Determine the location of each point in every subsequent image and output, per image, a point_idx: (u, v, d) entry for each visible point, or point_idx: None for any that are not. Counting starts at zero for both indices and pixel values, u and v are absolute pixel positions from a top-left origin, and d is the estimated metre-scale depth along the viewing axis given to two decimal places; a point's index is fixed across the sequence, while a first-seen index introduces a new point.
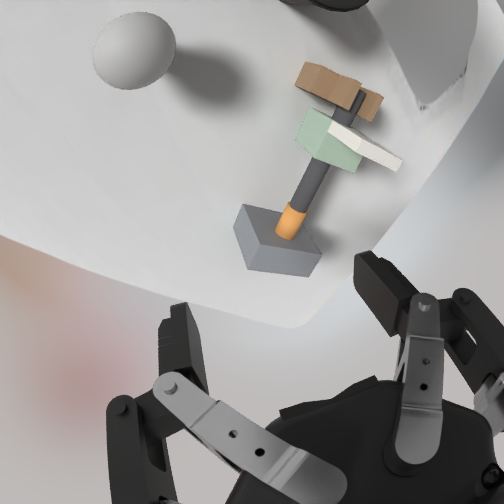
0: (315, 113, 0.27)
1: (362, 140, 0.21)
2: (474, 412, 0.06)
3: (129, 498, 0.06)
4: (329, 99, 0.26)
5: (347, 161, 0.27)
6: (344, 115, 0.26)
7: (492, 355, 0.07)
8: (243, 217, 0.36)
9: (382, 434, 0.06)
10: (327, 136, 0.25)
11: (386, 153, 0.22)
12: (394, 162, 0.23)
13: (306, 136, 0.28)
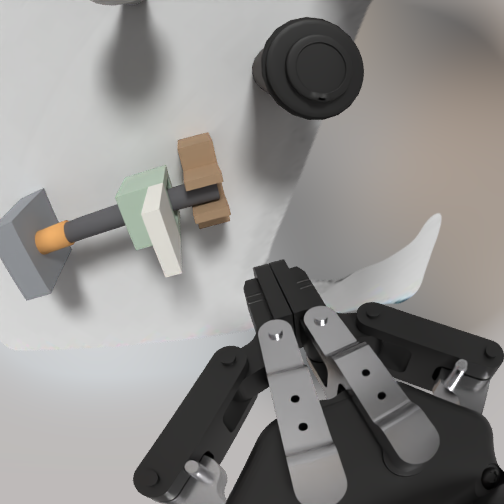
0: (161, 170, 0.25)
1: (157, 210, 0.18)
2: (474, 412, 0.06)
3: (178, 439, 0.07)
4: (185, 171, 0.25)
5: (140, 233, 0.24)
6: (180, 195, 0.24)
7: (435, 353, 0.08)
8: (31, 196, 0.24)
9: (374, 456, 0.06)
10: (144, 191, 0.22)
11: (170, 248, 0.19)
12: (171, 266, 0.20)
13: (134, 180, 0.24)
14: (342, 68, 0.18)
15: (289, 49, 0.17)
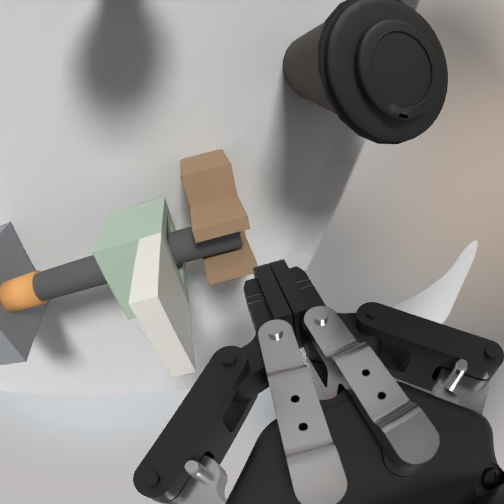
0: (158, 207, 0.18)
1: (155, 297, 0.11)
2: (474, 412, 0.06)
3: (178, 439, 0.07)
4: (192, 209, 0.18)
5: None
6: (187, 244, 0.17)
7: (435, 353, 0.08)
8: None
9: (374, 456, 0.06)
10: (134, 244, 0.15)
11: (178, 346, 0.12)
12: (180, 365, 0.13)
13: (120, 220, 0.17)
14: (428, 73, 0.11)
15: (360, 35, 0.10)
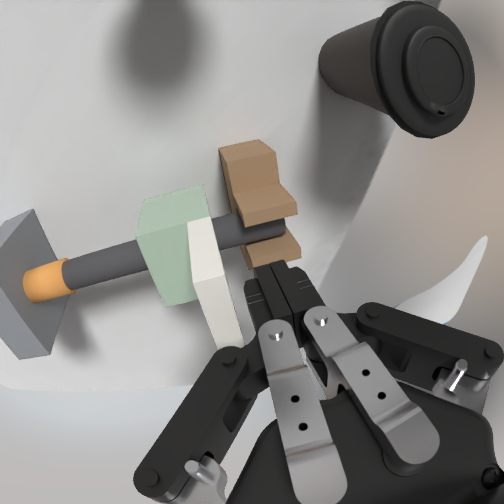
0: (199, 193, 0.18)
1: (222, 276, 0.11)
2: (474, 412, 0.06)
3: (178, 439, 0.07)
4: (236, 195, 0.18)
5: (172, 285, 0.17)
6: (232, 230, 0.18)
7: (435, 353, 0.08)
8: (17, 221, 0.18)
9: (374, 456, 0.06)
10: (181, 228, 0.15)
11: (236, 328, 0.13)
12: None
13: (159, 206, 0.17)
14: (460, 76, 0.11)
15: (406, 38, 0.10)
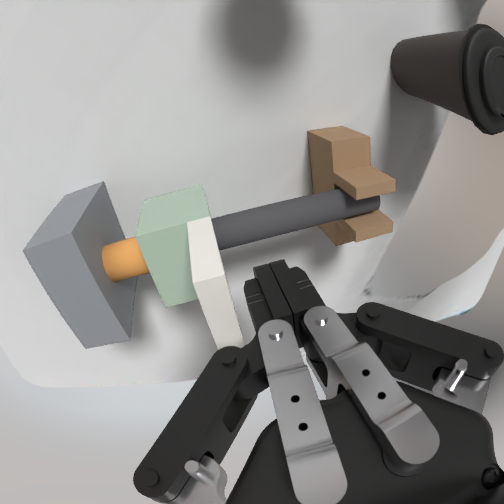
0: (199, 193, 0.18)
1: (222, 276, 0.11)
2: (474, 412, 0.06)
3: (178, 439, 0.07)
4: (337, 173, 0.19)
5: (172, 285, 0.17)
6: (338, 203, 0.18)
7: (435, 353, 0.08)
8: (87, 193, 0.18)
9: (374, 456, 0.06)
10: (180, 227, 0.15)
11: (236, 328, 0.13)
12: None
13: (159, 206, 0.17)
14: None
15: (482, 55, 0.11)
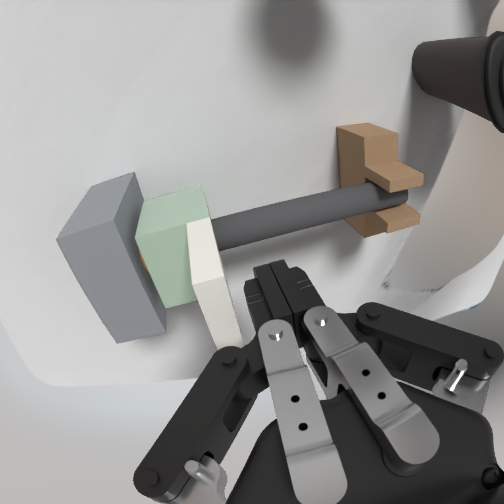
0: (199, 194, 0.18)
1: (221, 277, 0.11)
2: (474, 412, 0.06)
3: (178, 439, 0.07)
4: (369, 167, 0.19)
5: (172, 286, 0.17)
6: (371, 196, 0.18)
7: (435, 353, 0.08)
8: (119, 183, 0.18)
9: (374, 456, 0.06)
10: (180, 229, 0.15)
11: (236, 329, 0.13)
12: None
13: (158, 207, 0.17)
14: None
15: (501, 60, 0.11)
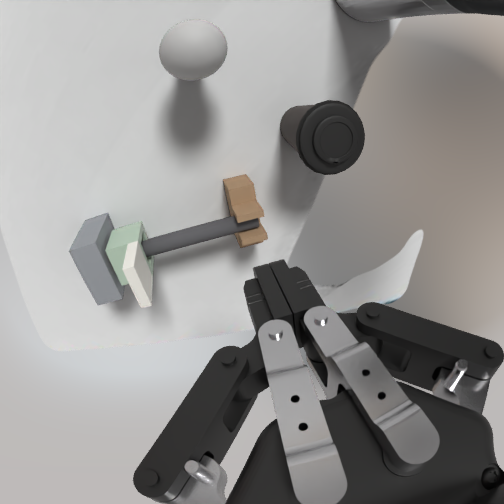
0: (138, 227, 0.34)
1: (132, 266, 0.27)
2: (474, 412, 0.06)
3: (178, 439, 0.07)
4: (233, 207, 0.35)
5: (124, 274, 0.32)
6: (231, 224, 0.35)
7: (435, 353, 0.08)
8: (99, 220, 0.34)
9: (374, 456, 0.06)
10: (125, 246, 0.31)
11: (143, 290, 0.28)
12: (144, 301, 0.29)
13: (118, 234, 0.33)
14: (350, 139, 0.28)
15: (315, 127, 0.27)
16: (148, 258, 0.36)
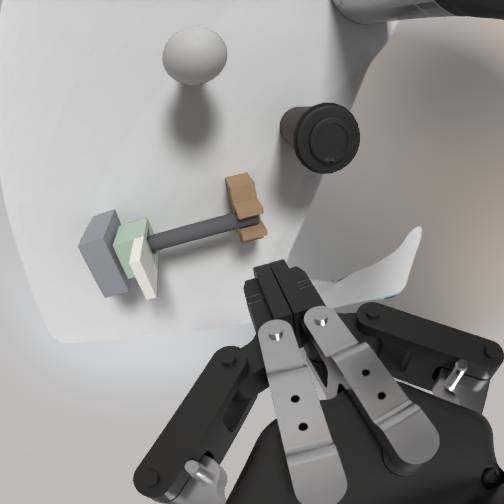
0: (143, 223, 0.36)
1: (139, 260, 0.29)
2: (474, 412, 0.06)
3: (178, 439, 0.07)
4: (234, 204, 0.37)
5: (130, 268, 0.34)
6: (232, 220, 0.36)
7: (435, 353, 0.08)
8: (107, 216, 0.36)
9: (374, 456, 0.06)
10: (131, 241, 0.33)
11: (148, 282, 0.30)
12: (149, 293, 0.31)
13: (125, 230, 0.35)
14: (345, 139, 0.30)
15: (312, 128, 0.29)
16: (153, 253, 0.38)
